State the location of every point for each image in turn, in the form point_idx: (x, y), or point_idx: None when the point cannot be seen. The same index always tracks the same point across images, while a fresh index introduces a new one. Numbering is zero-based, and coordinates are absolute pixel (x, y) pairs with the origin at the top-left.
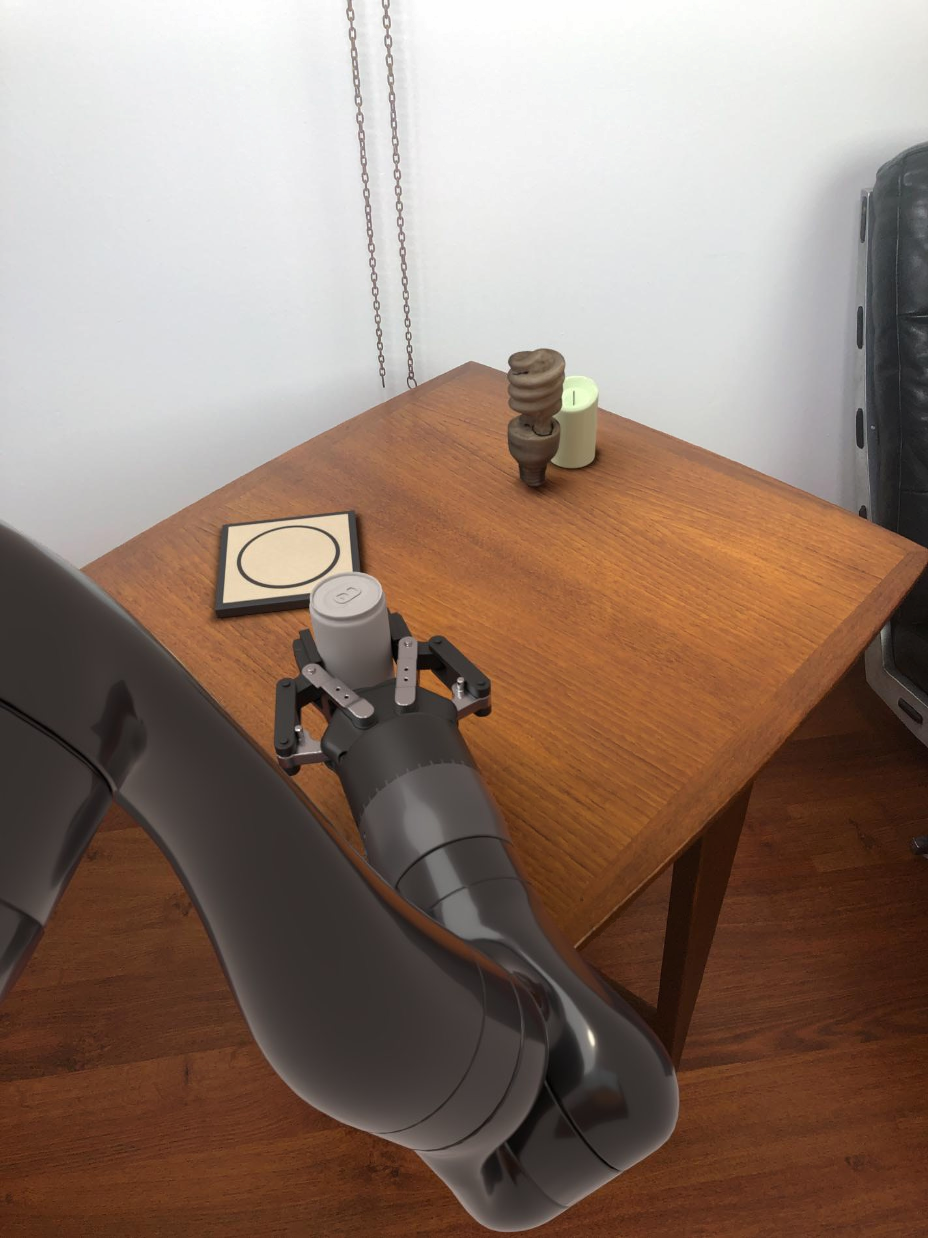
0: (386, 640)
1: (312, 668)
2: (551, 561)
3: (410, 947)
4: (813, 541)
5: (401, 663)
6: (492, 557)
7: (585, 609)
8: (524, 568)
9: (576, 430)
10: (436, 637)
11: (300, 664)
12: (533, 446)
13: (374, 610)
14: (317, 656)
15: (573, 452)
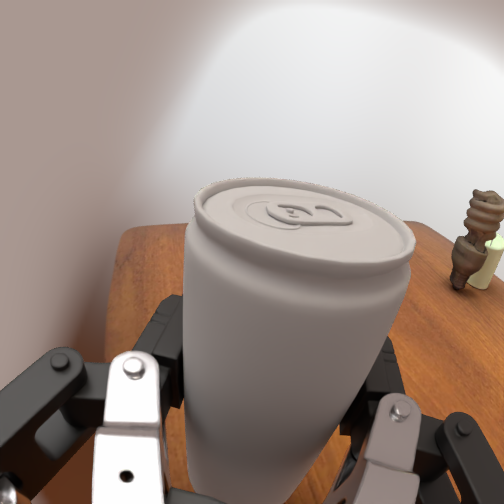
0: (356, 388)
1: (135, 366)
2: (466, 343)
3: None
4: None
5: (375, 483)
6: (426, 324)
7: (487, 392)
8: (448, 341)
9: (489, 262)
10: (464, 419)
11: (139, 342)
12: (472, 256)
13: (380, 282)
14: (175, 345)
15: (481, 277)
